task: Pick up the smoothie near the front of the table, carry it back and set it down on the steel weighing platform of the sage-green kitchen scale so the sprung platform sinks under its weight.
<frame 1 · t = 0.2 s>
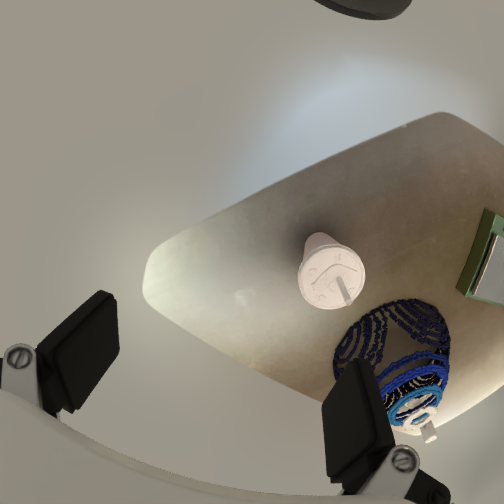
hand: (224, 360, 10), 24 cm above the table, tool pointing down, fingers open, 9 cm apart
smoothie: (319, 246, 33), on the table
decorative bowl: (391, 352, 38), on the table
scale platform: (503, 272, 27), point 4 cm above the table, slide at 0.0 cm
scale: (491, 258, 30), on the table
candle: (414, 397, 41), on the table
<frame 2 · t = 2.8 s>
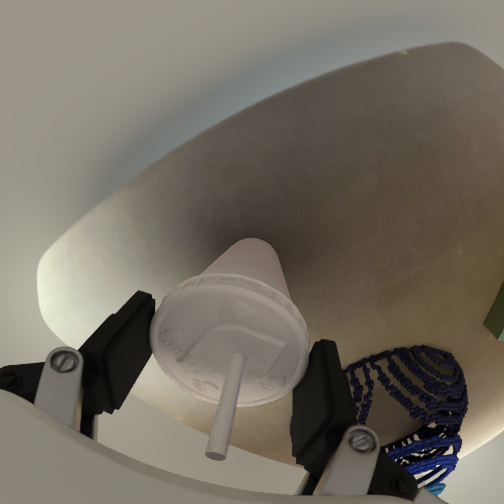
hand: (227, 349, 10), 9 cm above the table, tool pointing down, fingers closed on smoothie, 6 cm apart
smoothie: (252, 262, 19), on the table, touching gripper
decorative bowl: (380, 413, 23), on the table
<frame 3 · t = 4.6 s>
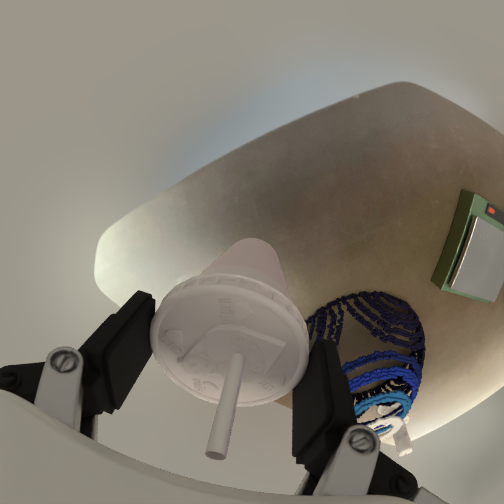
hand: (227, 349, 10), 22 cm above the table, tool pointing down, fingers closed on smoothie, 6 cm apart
smoothie: (252, 262, 19), point 12 cm above the table, touching gripper
decorative bowl: (357, 352, 35), on the table
scale platform: (487, 262, 25), point 4 cm above the table, slide at 0.0 cm
scale: (474, 247, 28), on the table
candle: (390, 404, 39), on the table
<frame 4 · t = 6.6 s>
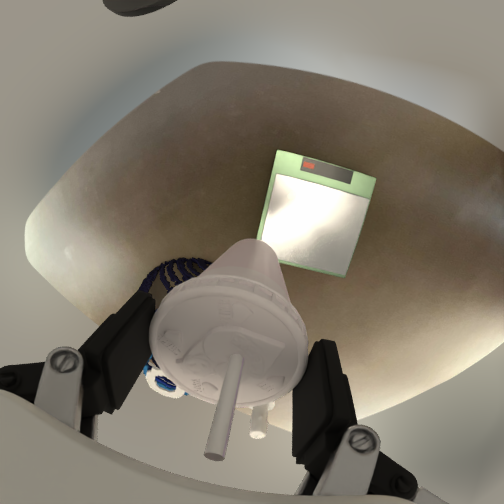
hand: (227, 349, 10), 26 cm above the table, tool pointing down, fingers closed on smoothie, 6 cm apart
smoothie: (251, 263, 19), point 16 cm above the table, touching gripper
decorative bowl: (198, 318, 41), on the table
scale platform: (313, 225, 30), point 4 cm above the table, slide at 0.0 cm
scale: (311, 212, 33), on the table
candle: (263, 383, 44), on the table
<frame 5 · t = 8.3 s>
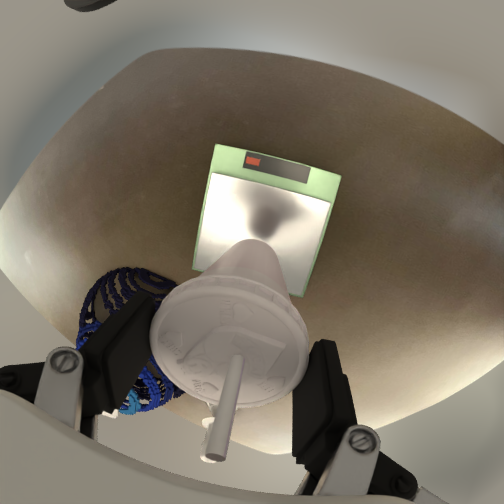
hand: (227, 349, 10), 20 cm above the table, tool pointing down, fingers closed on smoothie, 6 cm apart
smoothie: (252, 263, 19), point 11 cm above the table, touching gripper
decorative bowl: (148, 332, 36), on the table
scale platform: (259, 235, 25), point 4 cm above the table, slide at 0.0 cm
scale: (264, 217, 28), on the table
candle: (222, 402, 39), on the table
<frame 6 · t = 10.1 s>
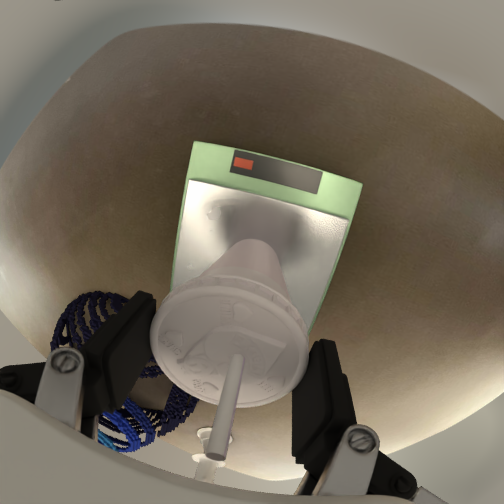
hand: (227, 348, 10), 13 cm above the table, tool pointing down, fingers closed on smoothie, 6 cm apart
smoothie: (252, 263, 19), point 4 cm above the table, touching gripper, scale platform
decorative bowl: (128, 362, 29), on the table
scale platform: (252, 262, 19), point 4 cm above the table, slide at -0.2 cm, touching smoothie
scale: (259, 236, 22), on the table
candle: (215, 435, 33), on the table
when the fingers open (13 cm above the table, at t = 10.3 s): smoothie stays where it is, resting on scale platform.
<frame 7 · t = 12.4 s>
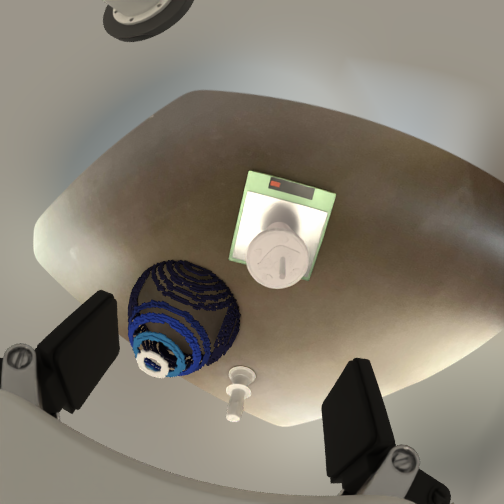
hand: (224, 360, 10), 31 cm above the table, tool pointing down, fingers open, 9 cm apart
smoothie: (278, 235, 36), point 4 cm above the table, touching scale platform
decorative bowl: (184, 313, 47), on the table
scale platform: (279, 234, 37), point 3 cm above the table, slide at -0.4 cm, touching scale, smoothie
scale: (281, 223, 39), on the table
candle: (242, 374, 50), on the table
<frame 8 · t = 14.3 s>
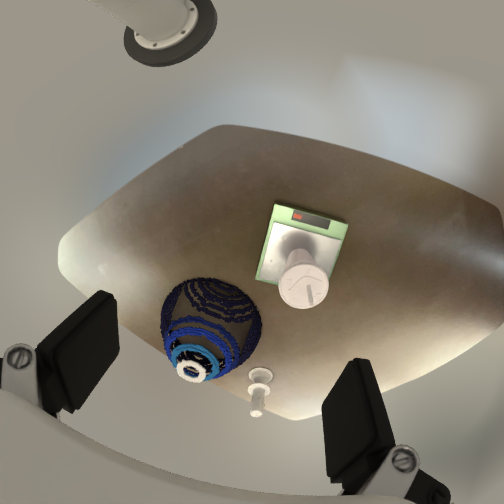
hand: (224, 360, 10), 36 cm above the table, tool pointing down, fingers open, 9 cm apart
smoothie: (299, 259, 43), point 4 cm above the table, touching scale platform
decorative bowl: (211, 323, 53), on the table
scale platform: (299, 258, 43), point 3 cm above the table, slide at -0.4 cm, touching scale, smoothie
scale: (299, 246, 46), on the table
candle: (260, 374, 57), on the table
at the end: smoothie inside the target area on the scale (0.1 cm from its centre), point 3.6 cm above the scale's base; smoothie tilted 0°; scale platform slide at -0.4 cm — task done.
